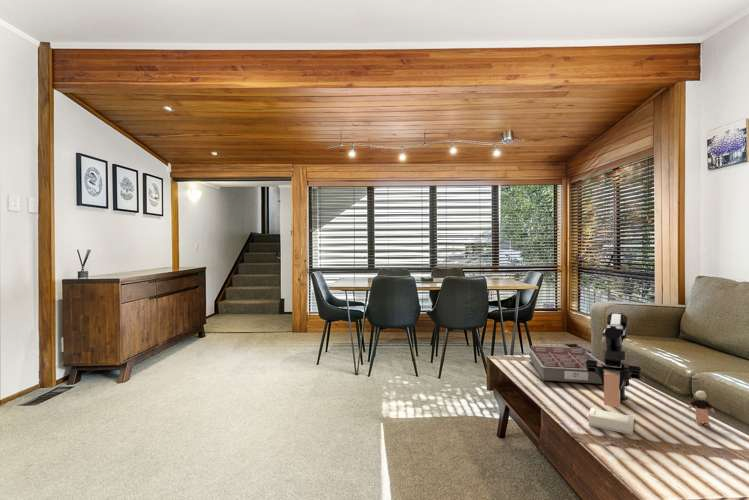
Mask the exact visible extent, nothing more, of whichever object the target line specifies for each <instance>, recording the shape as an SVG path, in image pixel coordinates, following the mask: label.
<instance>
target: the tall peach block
mask: <svg viewBox="0 0 749 500" xmlns="http://www.w3.org/2000/svg"><path fill="white" fill-rule="evenodd" d="M619 384H620V372H614V371H607V370H605V373H604V387H603V406H609V407H614V408H620V405H621V400H620V390H619Z"/></svg>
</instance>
